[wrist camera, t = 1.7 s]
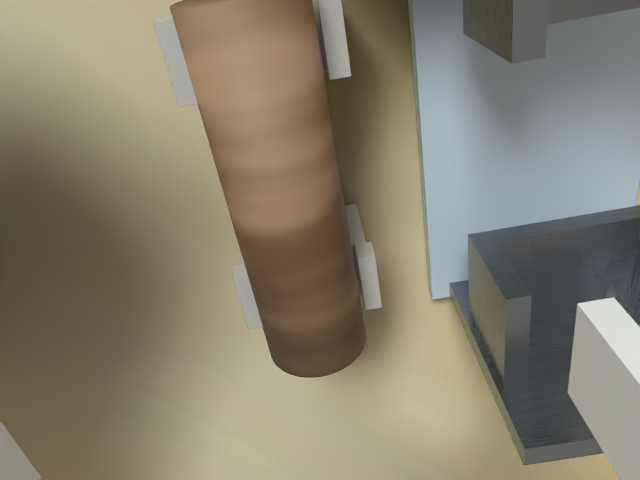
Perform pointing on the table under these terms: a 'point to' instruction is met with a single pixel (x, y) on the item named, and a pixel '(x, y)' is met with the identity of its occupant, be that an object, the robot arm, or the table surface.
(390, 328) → the table surface
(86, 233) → the table surface
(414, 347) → the table surface
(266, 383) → the table surface
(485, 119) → the wall board
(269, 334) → the brown cylinder
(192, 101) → the rest blocks
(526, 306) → the brackets
